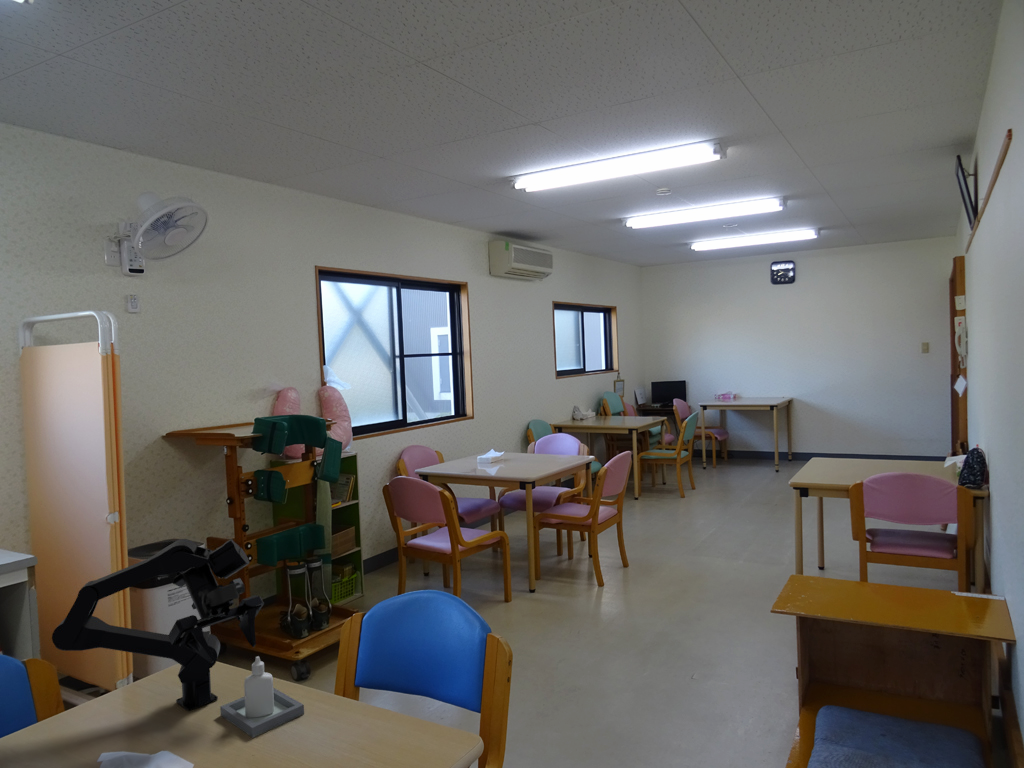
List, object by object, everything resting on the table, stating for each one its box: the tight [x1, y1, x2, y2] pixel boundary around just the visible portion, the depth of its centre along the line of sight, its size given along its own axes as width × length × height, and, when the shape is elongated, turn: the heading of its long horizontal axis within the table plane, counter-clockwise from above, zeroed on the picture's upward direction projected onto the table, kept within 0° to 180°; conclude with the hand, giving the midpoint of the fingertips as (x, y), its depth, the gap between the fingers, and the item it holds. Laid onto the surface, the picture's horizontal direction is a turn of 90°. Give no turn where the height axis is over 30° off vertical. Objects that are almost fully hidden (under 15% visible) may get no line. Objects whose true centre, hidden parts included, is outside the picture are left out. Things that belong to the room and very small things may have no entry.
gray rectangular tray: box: [219, 687, 305, 739], centre depth 144 cm, size 13×11×2 cm
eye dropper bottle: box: [243, 655, 274, 718], centre depth 144 cm, size 4×6×12 cm
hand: (234, 653), depth 143 cm, fingers open, 9 cm apart
